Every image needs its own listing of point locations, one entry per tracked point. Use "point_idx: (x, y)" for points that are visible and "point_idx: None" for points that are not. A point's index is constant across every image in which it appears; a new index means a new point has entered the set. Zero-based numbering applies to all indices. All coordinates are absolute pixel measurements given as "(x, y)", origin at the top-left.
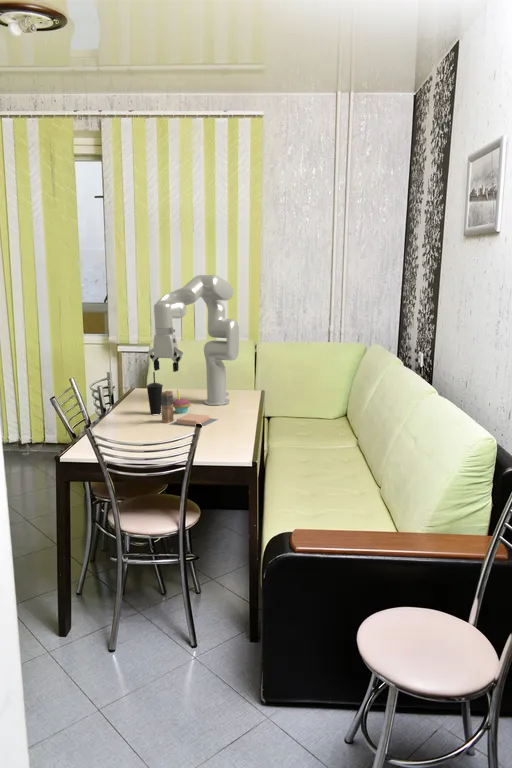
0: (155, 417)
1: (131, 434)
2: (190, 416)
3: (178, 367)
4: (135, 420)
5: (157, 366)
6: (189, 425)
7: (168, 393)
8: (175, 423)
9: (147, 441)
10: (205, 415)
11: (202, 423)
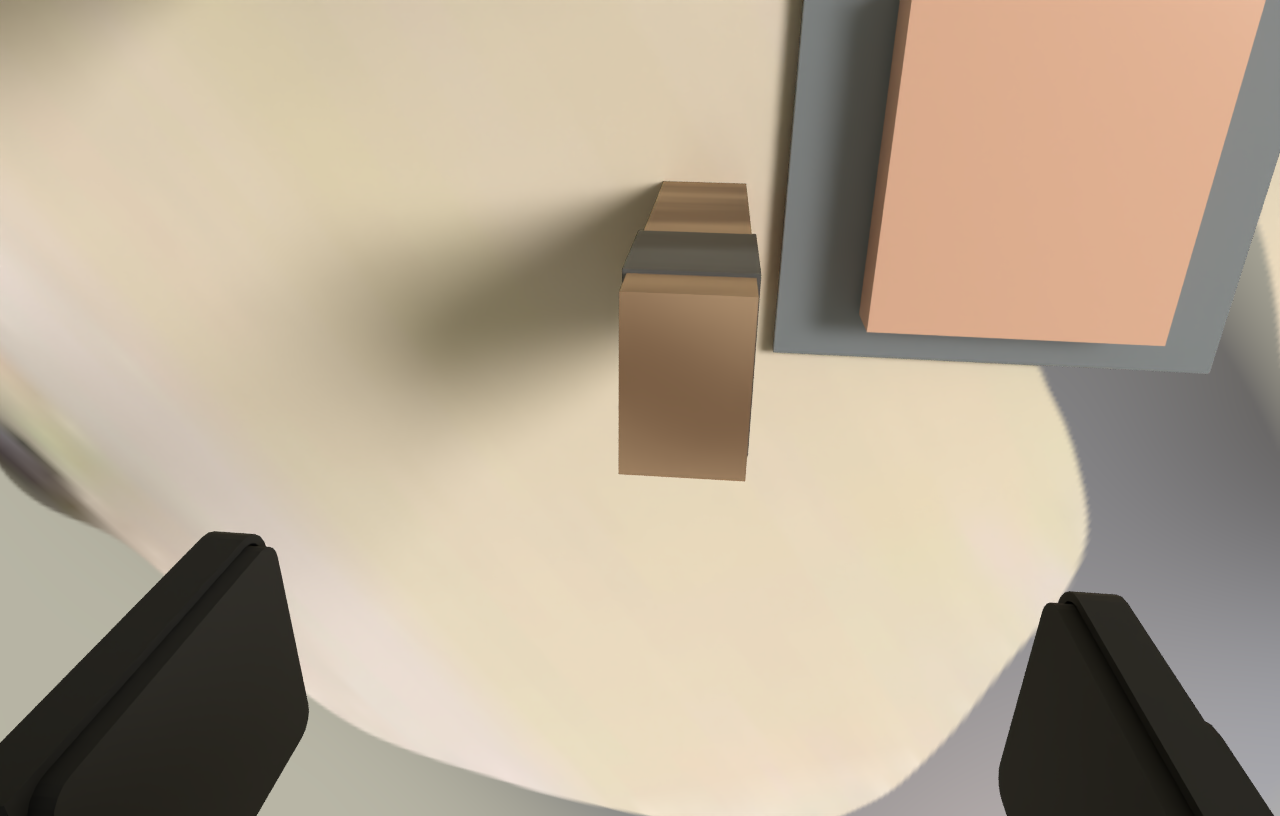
0: (394, 38)
1: (600, 684)
2: (995, 145)
3: (1233, 764)
4: (284, 257)
5: (230, 729)
6: None
7: (748, 427)
8: (830, 295)
9: (841, 801)
10: (1209, 7)
11: None
